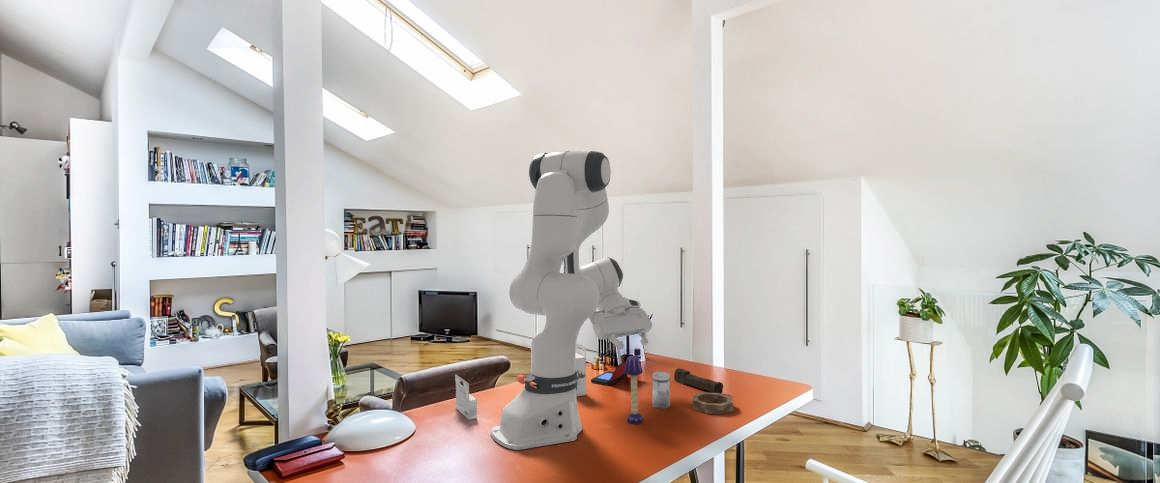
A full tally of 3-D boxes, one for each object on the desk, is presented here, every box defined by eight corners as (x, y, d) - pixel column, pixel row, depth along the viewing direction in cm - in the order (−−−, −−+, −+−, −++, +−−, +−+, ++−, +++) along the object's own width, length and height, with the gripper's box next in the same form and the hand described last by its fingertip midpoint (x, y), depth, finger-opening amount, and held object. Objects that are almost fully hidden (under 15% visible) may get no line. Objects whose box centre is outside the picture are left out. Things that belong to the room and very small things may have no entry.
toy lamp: (637, 425, 132) (637, 360, 131) (621, 422, 134) (621, 357, 134) (645, 419, 136) (645, 356, 135) (629, 416, 138) (629, 354, 138)
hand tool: (724, 394, 157) (724, 379, 157) (714, 396, 155) (714, 381, 155) (680, 379, 174) (680, 366, 173) (671, 381, 171) (671, 367, 171)
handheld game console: (608, 374, 180) (608, 352, 180) (636, 378, 175) (636, 356, 174) (589, 383, 170) (589, 360, 170) (618, 388, 164) (618, 365, 164)
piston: (660, 409, 143) (660, 377, 143) (648, 404, 147) (648, 373, 147) (673, 406, 146) (673, 374, 146) (661, 401, 150) (661, 370, 150)
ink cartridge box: (463, 406, 147) (463, 372, 146) (477, 418, 137) (477, 381, 137) (454, 408, 145) (454, 373, 145) (468, 420, 136) (468, 383, 136)
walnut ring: (713, 416, 138) (713, 407, 138) (684, 405, 147) (684, 397, 147) (740, 409, 144) (741, 400, 144) (711, 398, 153) (711, 390, 153)
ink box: (560, 389, 162) (559, 342, 162) (574, 387, 164) (574, 341, 164) (571, 397, 154) (571, 348, 154) (586, 395, 156) (586, 346, 156)
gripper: (590, 306, 157) (610, 344, 149) (642, 300, 168) (663, 336, 160) (582, 318, 161) (601, 356, 153) (634, 312, 172) (653, 347, 164)
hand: (633, 346), depth 157 cm, fingers open, 8 cm apart
